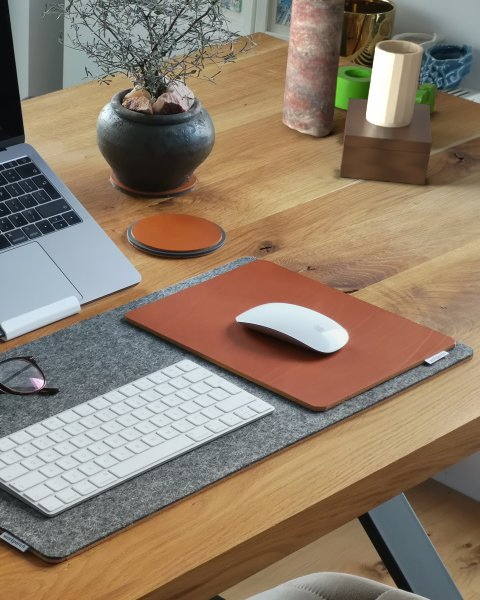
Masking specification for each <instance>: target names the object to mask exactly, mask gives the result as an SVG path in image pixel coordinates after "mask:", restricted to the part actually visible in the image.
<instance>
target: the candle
mask: <svg viewBox="0 0 480 600" xmlns="http://www.w3.org/2000/svg"><path fill="white" fill-rule="evenodd" d="M345 5H346V0H292V1H291V12H290V13H291V14H290V26H289V37H288V39H289V40H288V50H287V60H286V72H285V82H284V94H283V104H282V105H283V107H282V123H283V124H284V125H285V126H287V127H289V128H290V129H291V130H295V131H297V132H299V133H301V134H306V135H310V136H313V137H317V138H318V137H325V136H327V135H328V134H330V133H331V132H332V131H333V130H334V129H333V128H334V121H335V120H334V119H335V111H336V106H335V100H336V89H337V77H338V68H339V66H340V57H341V45H342V36H343V26H344V16H345V15H344V14H345Z"/></svg>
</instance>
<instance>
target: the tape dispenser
mask: <svg viewBox="0 0 480 600" xmlns="http://www.w3.org/2000/svg"><path fill="white" fill-rule="evenodd" d="M372 69H373V67H372V68H371V67H367V66H361V65H344V66H340V67H338V77H337V89H336V100H335V108H338V109H342V110H346V111H347V109H348V101H349V98H355V99H367V100H368V97H369V90H370V83H371V76H372ZM437 91H438V85H437V84H435V83H430V82H424V83H422V84H420V87H419V88H417V91H416V97H415V104H425V105H429V108H430V115H432V114H433V113H434V107H435V101H436V98H437V97H436V96H437Z"/></svg>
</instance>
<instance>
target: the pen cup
mask: <svg viewBox="0 0 480 600" xmlns="http://www.w3.org/2000/svg"><path fill="white" fill-rule="evenodd" d="M423 54H424V47H423V46H422V45H421V44H419V43H416V42H413V41H407V40H401V39H400V40H399V39H387V40H382V41H379V42H377V43H375V49H374V54H373V55H374V56H373V61H372V76H371V83H370V90H369V97H368V104H367V111H366V119H367V120H368V121H369V122H371V123H373V124H375V125H379V126H383V127H403V126H407V125H409V124H410V123H411V120H412V116H413V110H414V104H415V97H416V91H417V89H418V85H419V79H420V72H421V67H422V61H423Z"/></svg>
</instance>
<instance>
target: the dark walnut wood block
mask: <svg viewBox="0 0 480 600" xmlns="http://www.w3.org/2000/svg"><path fill="white" fill-rule="evenodd" d="M367 104H368V100H367V99H355V98H349V101H348V109H347V110H346V115H345V124H344V131H343V138H342V139H343V140H342V143H343V145H342V153H341V161H340V167H339V168H340V169H339V175H338V176H339V177H340V178H350V179H359V180H360V179H361V180H369V181H370V180H371V181H379V182H389V183H390V182H391V183H401V184H409V185H419V186H425V184H426V178H427V172H428V168H429V167H428V166H429V160H430V155H431V149H432V145H433V142H432V141H433V140H432V125H431V114H430V108H429V105H425V104H414V110H413V116H412V120H411V123H410V124H409V125H407V126H403V127H383V126H379V125H375V124H373V123H371V122H369V121H368V120H367V119H366V111H367Z"/></svg>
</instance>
